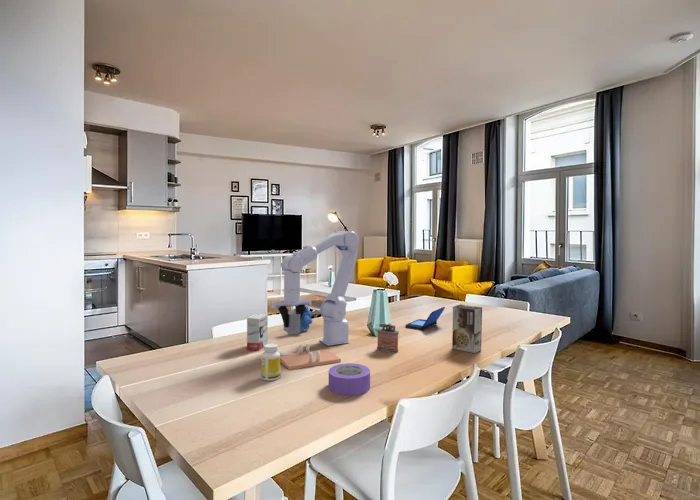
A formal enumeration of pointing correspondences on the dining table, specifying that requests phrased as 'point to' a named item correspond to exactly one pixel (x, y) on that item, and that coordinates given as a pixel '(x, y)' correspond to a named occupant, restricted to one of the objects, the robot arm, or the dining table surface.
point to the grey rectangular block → (293, 322)
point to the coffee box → (467, 328)
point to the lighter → (387, 338)
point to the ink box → (257, 331)
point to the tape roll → (349, 379)
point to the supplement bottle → (270, 362)
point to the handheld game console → (430, 321)
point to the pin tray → (308, 358)
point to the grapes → (305, 320)
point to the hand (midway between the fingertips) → (291, 326)
